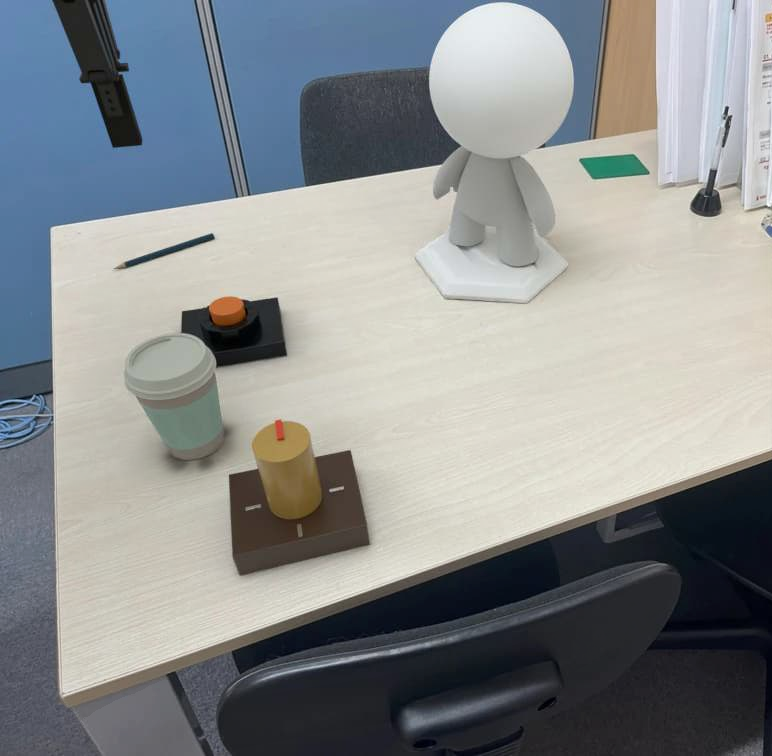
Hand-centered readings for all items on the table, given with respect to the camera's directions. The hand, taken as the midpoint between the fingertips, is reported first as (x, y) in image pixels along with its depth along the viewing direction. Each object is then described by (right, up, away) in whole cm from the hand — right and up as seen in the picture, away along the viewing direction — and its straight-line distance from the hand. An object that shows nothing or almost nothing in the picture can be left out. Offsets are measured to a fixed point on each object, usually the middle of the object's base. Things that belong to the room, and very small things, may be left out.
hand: (127, 143), depth 72 cm
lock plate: (+18, -38, -2) cm, 42 cm away
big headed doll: (+36, -7, +34) cm, 51 cm away
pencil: (-12, -6, +34) cm, 36 cm away
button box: (+4, -19, +19) cm, 27 cm away
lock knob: (+18, -35, -4) cm, 40 cm away
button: (+4, -16, +16) cm, 23 cm away
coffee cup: (+5, -31, +5) cm, 32 cm away
